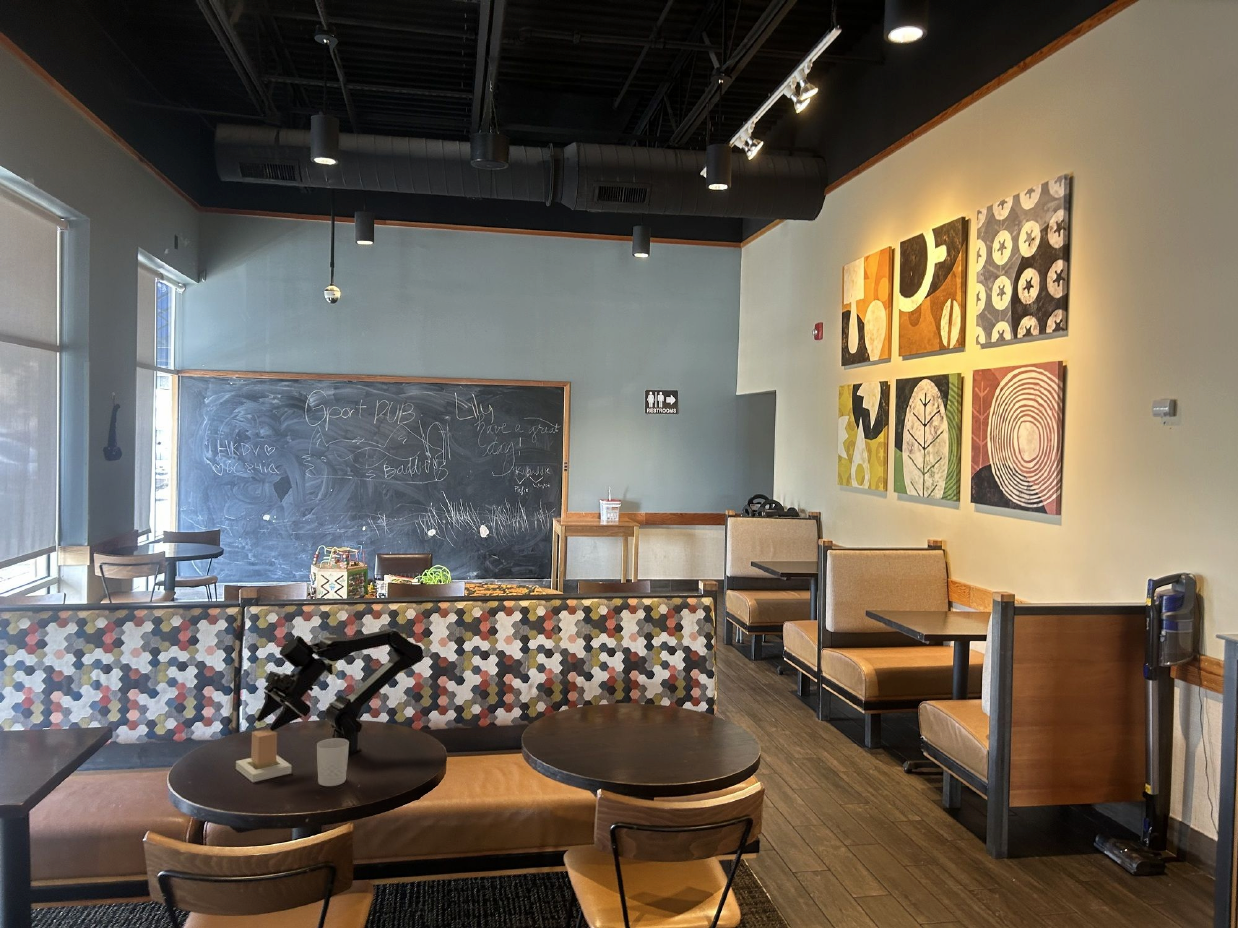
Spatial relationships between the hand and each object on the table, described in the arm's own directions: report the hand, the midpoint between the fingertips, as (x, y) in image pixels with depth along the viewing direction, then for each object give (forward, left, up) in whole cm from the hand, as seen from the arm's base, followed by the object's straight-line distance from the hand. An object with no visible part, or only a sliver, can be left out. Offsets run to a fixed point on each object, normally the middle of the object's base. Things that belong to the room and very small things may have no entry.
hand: (264, 725), depth 225 cm
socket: (0, 0, -12) cm, 12 cm away
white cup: (-21, -3, -12) cm, 24 cm away
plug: (0, 0, -12) cm, 12 cm away
